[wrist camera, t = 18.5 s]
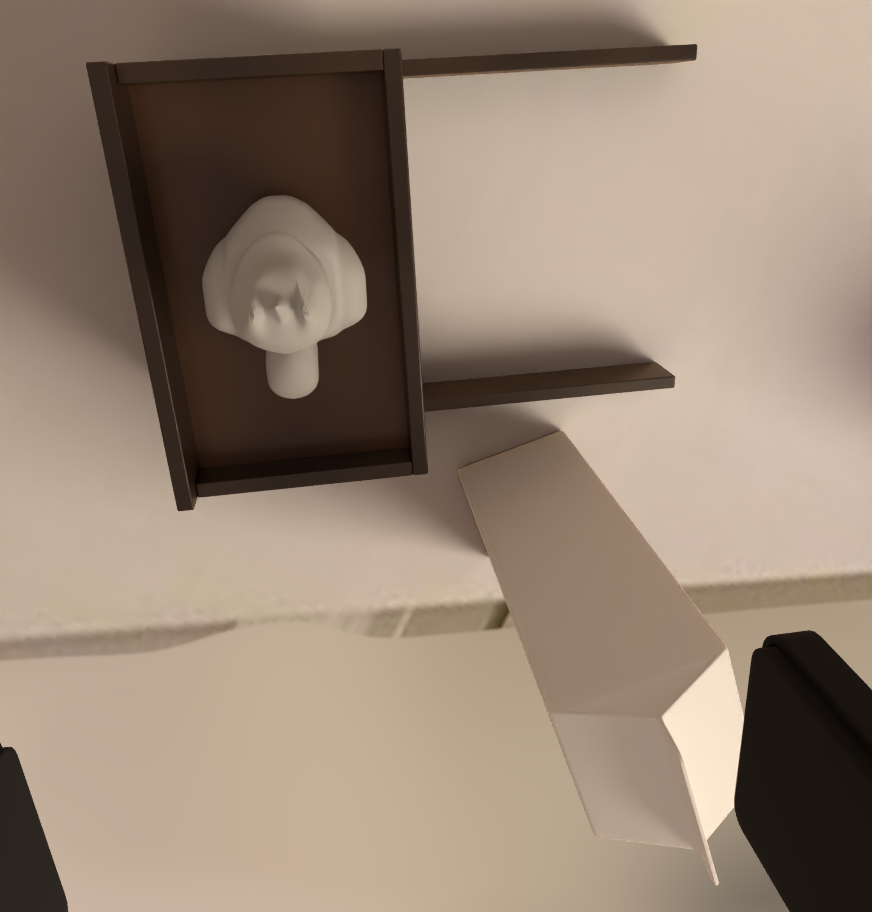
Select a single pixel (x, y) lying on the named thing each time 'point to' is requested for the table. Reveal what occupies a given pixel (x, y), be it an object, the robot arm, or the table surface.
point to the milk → (611, 649)
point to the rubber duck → (284, 288)
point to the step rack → (349, 214)
